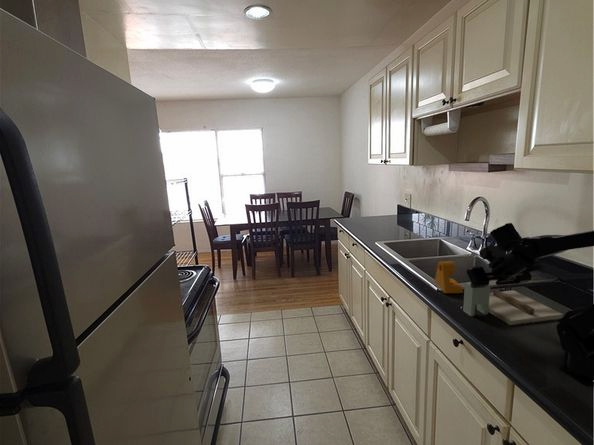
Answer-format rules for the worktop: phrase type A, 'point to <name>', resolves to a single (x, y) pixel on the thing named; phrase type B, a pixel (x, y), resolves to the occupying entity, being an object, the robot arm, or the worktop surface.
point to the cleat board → (517, 313)
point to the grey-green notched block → (476, 299)
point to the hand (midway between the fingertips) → (484, 285)
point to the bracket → (447, 277)
